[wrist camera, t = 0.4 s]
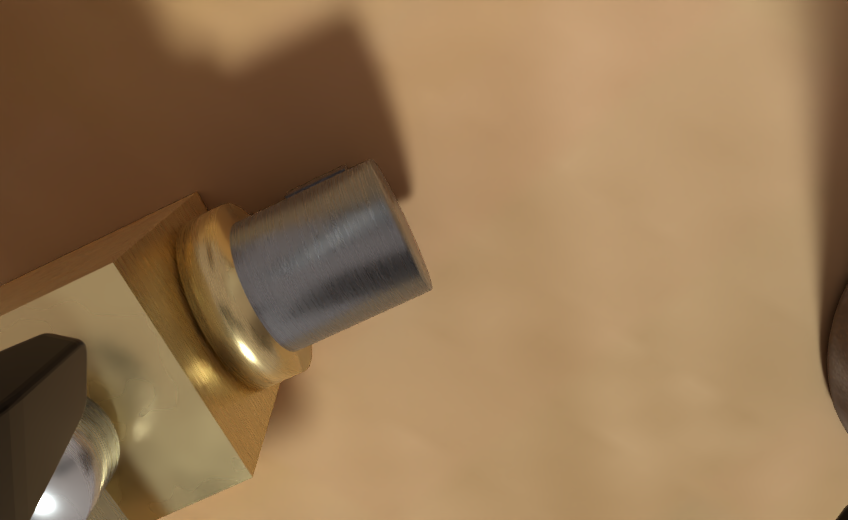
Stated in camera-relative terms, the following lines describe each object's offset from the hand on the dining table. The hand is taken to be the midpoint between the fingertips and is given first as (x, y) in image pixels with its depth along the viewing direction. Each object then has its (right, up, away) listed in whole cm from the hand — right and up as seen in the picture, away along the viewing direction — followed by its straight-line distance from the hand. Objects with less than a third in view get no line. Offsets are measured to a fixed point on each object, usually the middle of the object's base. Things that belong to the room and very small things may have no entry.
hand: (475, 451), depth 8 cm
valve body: (-9, 0, +15) cm, 17 cm away
